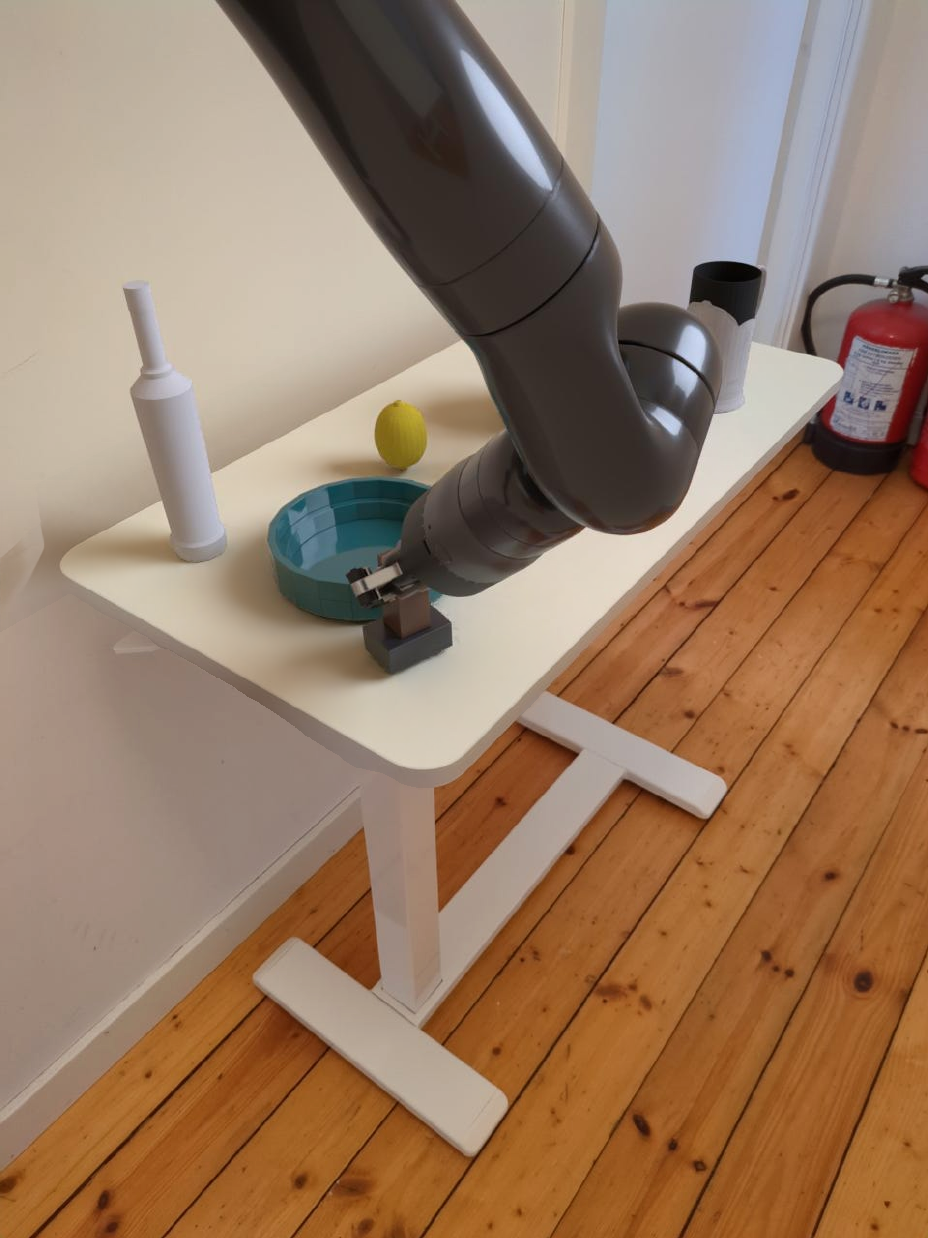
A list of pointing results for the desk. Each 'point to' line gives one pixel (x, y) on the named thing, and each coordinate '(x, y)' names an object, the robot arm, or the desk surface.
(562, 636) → the desk surface
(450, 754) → the desk surface
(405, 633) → the stamp
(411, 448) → the lemon
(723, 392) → the glass holder
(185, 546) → the bottle
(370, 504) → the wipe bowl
